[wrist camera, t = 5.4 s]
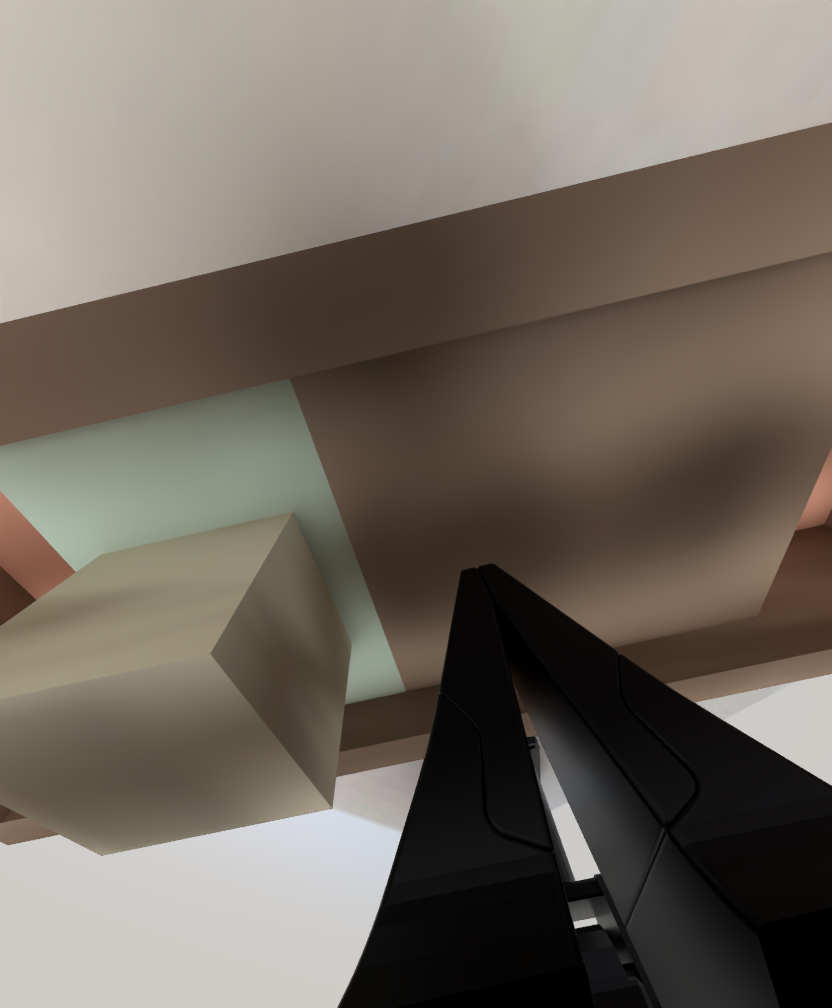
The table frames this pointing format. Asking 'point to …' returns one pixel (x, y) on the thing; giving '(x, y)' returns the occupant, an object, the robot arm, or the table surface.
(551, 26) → the table surface
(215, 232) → the table surface
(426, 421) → the tray
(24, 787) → the maple block
